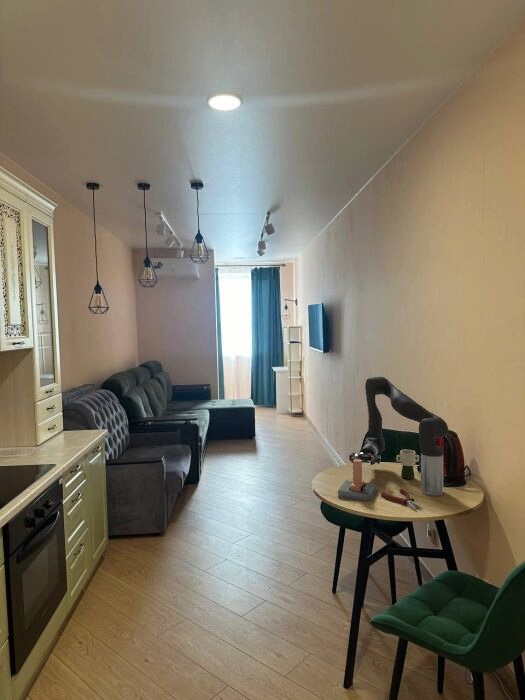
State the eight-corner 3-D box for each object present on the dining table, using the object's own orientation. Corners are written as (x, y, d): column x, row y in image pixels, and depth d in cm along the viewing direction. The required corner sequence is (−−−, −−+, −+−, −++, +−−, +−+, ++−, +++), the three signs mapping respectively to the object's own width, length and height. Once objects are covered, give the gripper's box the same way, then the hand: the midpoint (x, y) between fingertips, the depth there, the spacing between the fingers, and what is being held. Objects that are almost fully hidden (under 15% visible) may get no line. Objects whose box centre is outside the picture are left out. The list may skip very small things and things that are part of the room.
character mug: (417, 475, 227) (417, 449, 226) (421, 480, 220) (421, 453, 219) (394, 475, 227) (394, 449, 227) (398, 480, 220) (398, 453, 219)
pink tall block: (364, 490, 207) (363, 458, 206) (359, 497, 198) (359, 463, 198) (355, 489, 208) (355, 457, 208) (350, 496, 200) (350, 462, 199)
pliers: (407, 514, 182) (407, 508, 181) (379, 496, 201) (379, 491, 201) (432, 510, 185) (432, 504, 185) (402, 493, 204) (402, 487, 204)
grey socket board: (376, 490, 207) (376, 484, 207) (370, 501, 194) (370, 494, 194) (345, 486, 213) (345, 480, 212) (338, 497, 200) (338, 490, 200)
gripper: (354, 444, 229) (346, 452, 214) (383, 446, 223) (377, 455, 208) (354, 458, 229) (346, 468, 215) (383, 462, 224) (377, 471, 209)
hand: (362, 462), depth 212 cm, fingers open, 8 cm apart
